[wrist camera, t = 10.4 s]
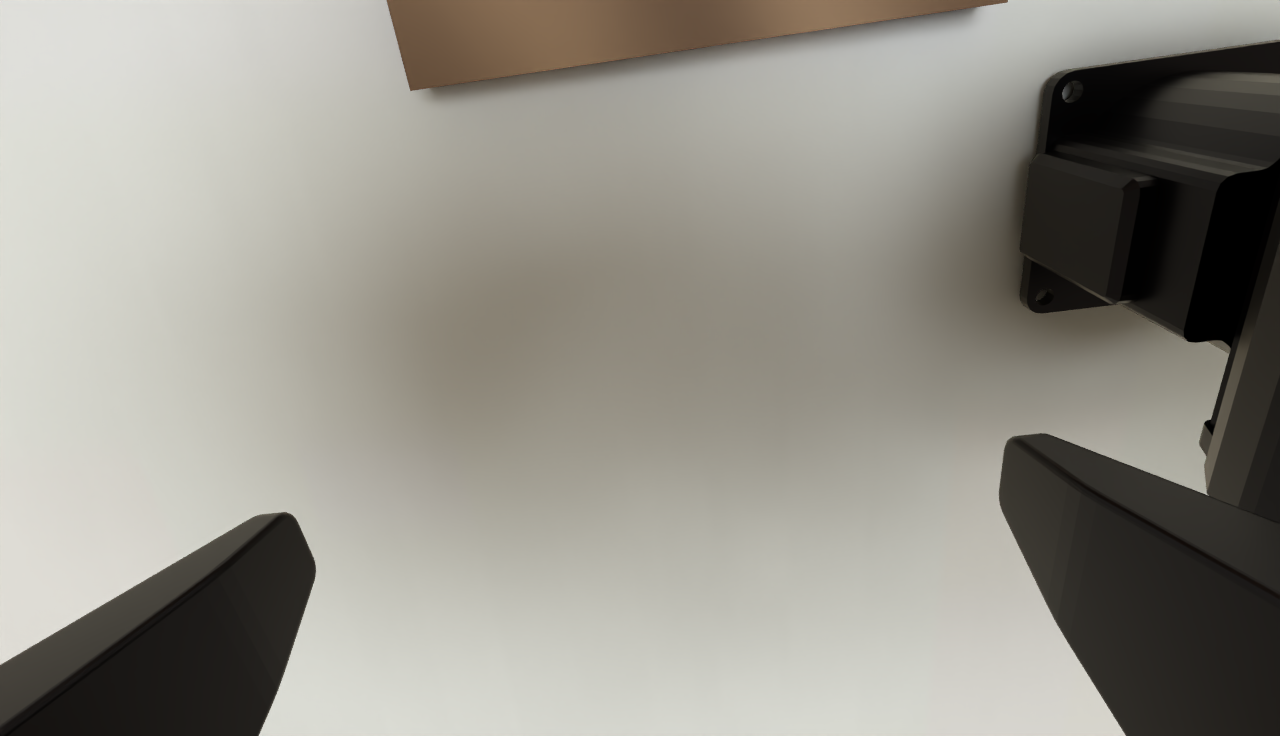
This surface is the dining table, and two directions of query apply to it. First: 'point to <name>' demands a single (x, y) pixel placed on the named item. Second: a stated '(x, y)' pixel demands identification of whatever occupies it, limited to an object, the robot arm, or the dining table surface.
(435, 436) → the dining table surface
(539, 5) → the brown piece
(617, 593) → the dining table surface
